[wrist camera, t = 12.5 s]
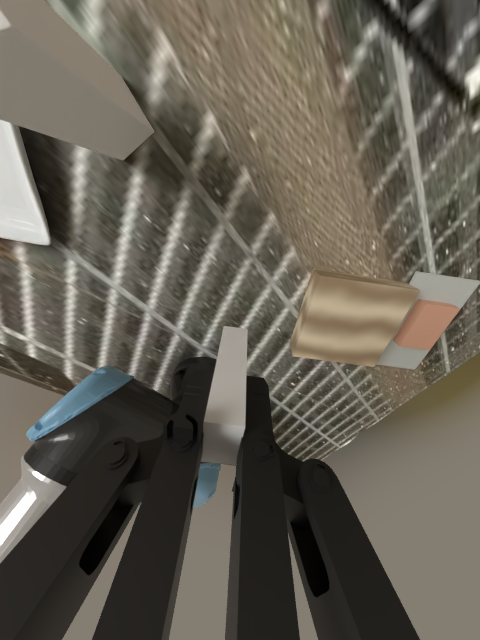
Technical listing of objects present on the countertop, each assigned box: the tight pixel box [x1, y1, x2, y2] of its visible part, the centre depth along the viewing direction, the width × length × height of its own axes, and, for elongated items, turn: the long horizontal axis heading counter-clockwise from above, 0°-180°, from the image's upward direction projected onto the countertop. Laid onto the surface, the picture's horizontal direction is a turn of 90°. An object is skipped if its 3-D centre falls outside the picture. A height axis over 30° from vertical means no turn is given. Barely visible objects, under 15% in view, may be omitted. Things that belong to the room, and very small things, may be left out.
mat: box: [376, 271, 480, 370], centre depth 40 cm, size 20×11×1 cm, turn 172°
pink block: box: [393, 299, 460, 350], centre depth 38 cm, size 9×6×2 cm, turn 173°
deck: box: [290, 268, 421, 367], centre depth 38 cm, size 16×16×4 cm
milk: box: [0, 0, 154, 160], centre depth 17 cm, size 6×6×22 cm
